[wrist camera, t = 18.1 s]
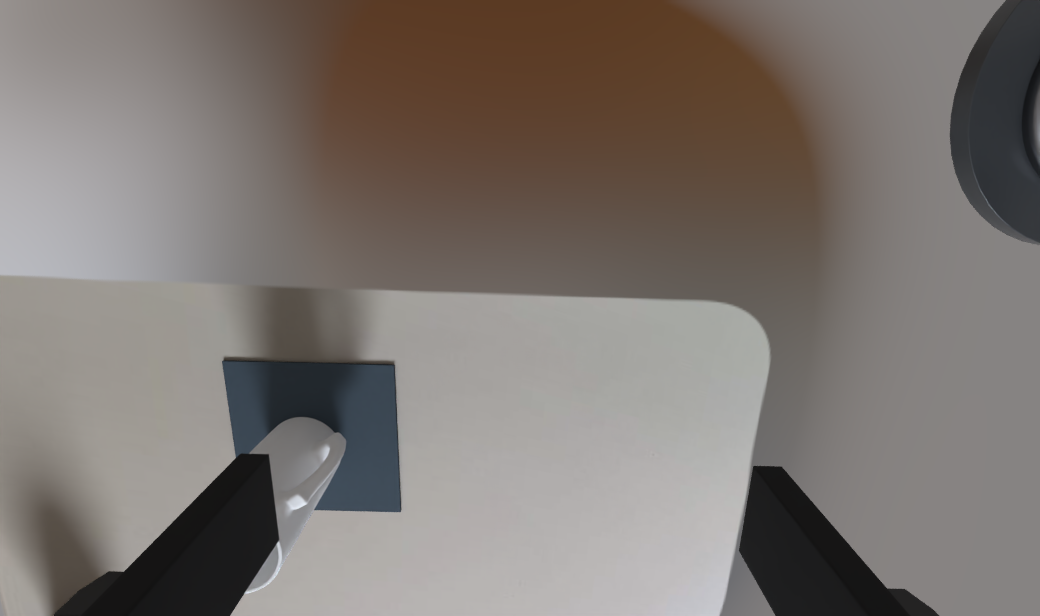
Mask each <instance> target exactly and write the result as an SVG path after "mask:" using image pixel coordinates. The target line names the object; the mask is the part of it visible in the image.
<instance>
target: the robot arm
mask: <svg viewBox="0 0 1040 616" xmlns="http://www.w3.org/2000/svg"><path fill="white" fill-rule="evenodd" d="M1022 135H1023V141H1024V146H1025V150H1026V153H1027V156H1028V158H1029V160H1030V163H1031V164H1032V166H1033V168H1034V170H1035V171H1036V172H1037V174H1038V175H1039V176H1040V61H1039V63H1038V65H1037V67H1036V69H1035V71H1034V73H1033V76H1032V78H1031V81H1030V83H1029V86H1028V90H1027V93H1026V97H1025V101H1024V106H1023V114H1022ZM278 541H279V532H278V524H277V516H276V508H275V500H274V492H273V483H272V475H271V467H270V459H269V454H242V453H241V454H240V455H239V456H238V457H237V458H236V459H235V460H234V461H233V462H232V463H231V464H230V465H229V466H228V467H227V468H226V469H225V470H224V471H223V472H222V473H221V474H220V475H219V476H218V477H217V478H216V479H215V480H214V481H213V482H212V483H211V484H210V485H209V486H208V487H207V488H206V489H205V490H204V491H203V492H202V493H201V494H200V495H199V496H198V497H197V498H196V499H195V500H194V501H193V502H192V503H191V504H190V505H189V506H188V507H187V508H186V509H185V510H184V511H183V512H182V513H181V514H180V515H179V516H178V517H177V518H176V520H175V521H174V522H173V523H172V524H171V525H170V526H169V527H168V528H167V529H166V530H165V531H164V532H163V533H162V534H161V535H160V536H159V537H158V538H157V539H156V540H155V541H154V542H153V543H152V544H151V545H150V546H149V547H148V548H147V549H146V550H145V551H144V552H143V553H142V554H141V555H140V556H139V557H138V558H137V559H136V560H135V561H134V562H133V563H132V564H131V565H130V566H129V567H128V568H127V569H126V570H125V571H124V572H107V573H106V574H104V575H103V576H101V577H100V578H98V579H96V580H95V581H93V582H92V583H90V584H89V585H87V586H86V587H84V588H82V589H81V590H79V591H78V592H77V593H76V594H75V595H74V596H73V597H72V598H71V599H70V600H69V601H67V602H66V603H65V604H64V605H63V606H62V607H61V608H60V609H59V610H58V611H57V612H56V613H55V614H54V616H230V615H231V613H232V612H233V610H234V609H235V607H236V605H237V604H238V602H239V601H240V599H241V598H242V596H243V595H244V593H245V592H246V590H247V589H248V587H249V586H250V584H251V582H252V581H253V579H254V578H255V576H256V575H257V573H258V572H259V570H260V569H261V567H262V566H263V564H264V563H265V561H266V560H267V558H268V556H269V555H270V553H271V552H272V550H273V549H274V547H275V546H276V544H277V543H278ZM739 551H740V553H741V555H742V557H743V559H744V561H745V562H746V564H747V566H748V568H749V569H750V571H751V573H752V575H753V576H754V578H755V580H756V582H757V584H758V585H759V587H760V589H761V590H762V592H763V594H764V596H765V598H766V600H767V601H768V603H769V605H770V607H771V608H772V610H773V612H774V614H775V615H776V616H939V615H938V614H937V613H936V612H935V611H934V610H933V609H931V608H930V607H929V606H927V605H926V604H925V603H923V602H922V601H920V600H919V599H918V598H916V597H915V596H914V595H912V594H911V593H909V592H908V591H907V590H905V589H887V588H886V587H885V586H884V585H883V583H882V582H881V581H880V580H879V579H878V578H877V577H876V575H875V574H874V573H873V572H872V571H871V570H870V568H869V567H868V566H867V565H866V564H865V563H864V561H863V560H862V559H861V558H860V557H859V556H858V555H857V554H856V552H855V551H854V550H853V549H852V548H851V547H850V545H849V544H848V543H847V542H846V541H845V540H844V538H843V537H842V536H841V535H840V534H839V533H838V531H837V530H836V529H835V528H834V527H833V526H832V525H831V523H830V522H829V521H828V520H827V519H826V518H825V516H824V515H823V514H822V513H821V512H820V511H819V510H818V508H817V507H816V506H815V505H814V504H813V502H812V501H811V500H810V499H809V498H808V497H807V496H806V495H805V493H804V492H803V491H802V490H801V489H800V487H799V486H798V485H797V484H796V483H795V482H794V480H793V479H792V478H791V477H790V476H789V475H788V474H787V472H786V471H785V470H784V469H783V468H782V467H774V466H754V467H753V472H752V477H751V483H750V489H749V495H748V501H747V507H746V512H745V518H744V525H743V530H742V536H741V542H740V548H739Z"/></svg>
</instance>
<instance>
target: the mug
mask: <svg viewBox="0 0 1040 616" xmlns="http://www.w3.org/2000/svg"><path fill="white" fill-rule="evenodd" d="M345 448H346V439H345V438H344V437H343V436H342V435H341V434H340V433H334V432H333V430H332V429H331V428H329V427H328V426H327V425H326V424H324V423H322V422H320V421H318V420H316V419H313V418H308V417H295V418H291V419H288V420H286V421H284V422H282V423H280V424H279V425H278V426H277V427H276V428H274V429H273V430H272V431H271V432H270V433H269V434H268V435H267V436H266V437H265V438H264V439H263V440H262V441H261V442H260V443H259V444H258V445H257V446H256V447H255V448H254V449H253V450H252V451H251V452H250V453H249V454H269V459H270V467H271V475H272V483H273V492H274V500H275V508H276V516H277V524H278V532H279V541H278V543H277V544H276V546H275V547H274V549H273V550H272V552H271V553H270V555H269V556H268V558H267V560H266V561H265V563H264V564H263V566H262V567H261V569H260V570H259V572H258V573H257V575H256V576H255V578H254V579H253V581H252V582H251V584H250V586H249V587H248V589H247V590H246V592H245V593H244V594H246V593H251V592H254V591H257V590H259V589H261V588H263V587H265V586H266V585H268V584H269V583H270V582H271V581H272V580H273V579H274V578H275V577H276V575H277V574H278V572H279V570H280V568H281V566H282V564H283V563H284V561H285V559H286V558H287V556H288V554H289V553H290V551H291V549H292V548H293V546H294V544H295V542H296V541H297V539H298V537H299V535H300V534H301V532H302V530H303V528H304V527H305V525H306V523H307V521H308V519H309V518H310V516H311V514H312V512H313V511H314V509H315V507H316V505H317V504H318V502H319V500H320V498H321V497H322V495H323V493H324V491H325V490H326V488H327V486H328V485H329V483H330V481H331V479H332V477H333V475H334V473H335V472H336V470H337V468H338V466H339V464H340V462H341V458H342V456H343V454H344V452H345Z"/></svg>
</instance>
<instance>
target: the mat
mask: <svg viewBox="0 0 1040 616" xmlns="http://www.w3.org/2000/svg"><path fill="white" fill-rule="evenodd" d="M222 363H223V370H224V377H225V384H226V391H227V398H228V405H229V412H230V419H231V426H232V433H233V440H234V447H235V454H236V458H237V457H238V456H239V455H240V454H241V453H242V454H249V453H250V452H251V451H252V450H253V449H254V448H255V447H256V446H257V445H258V444H259V443H260V442H261V441H262V440H263V439H264V438H265V437H266V436H267V435H268V434H269V433H270V432H271V431H272V430H273V429H274V428H276V427H277V426H278V425H279V424H280V423H282V422H284V421H286V420H288V419H291V418H295V417H308V418H313V419H316V420H318V421H320V422H322V423H324V424H326V425H327V426H328V427H329V428H331V429H332V430H333V432H334V433H340V434H341V435H342V436H343V437H344V438H345V439H346V448H345V452H344V454H343V456H342V458H341V462H340V464H339V466H338V468H337V470H336V472H335V473H334V475H333V477H332V479H331V481H330V483H329V485H328V486H327V488H326V490H325V491H324V493H323V495H322V497H321V498H320V500H319V502H318V504H317V505H316V507H315V509H314V510H335V511H376V512H401V500H400V478H399V456H398V434H397V412H396V390H395V368H394V365H386V364H345V363H305V362H264V361H222Z"/></svg>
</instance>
